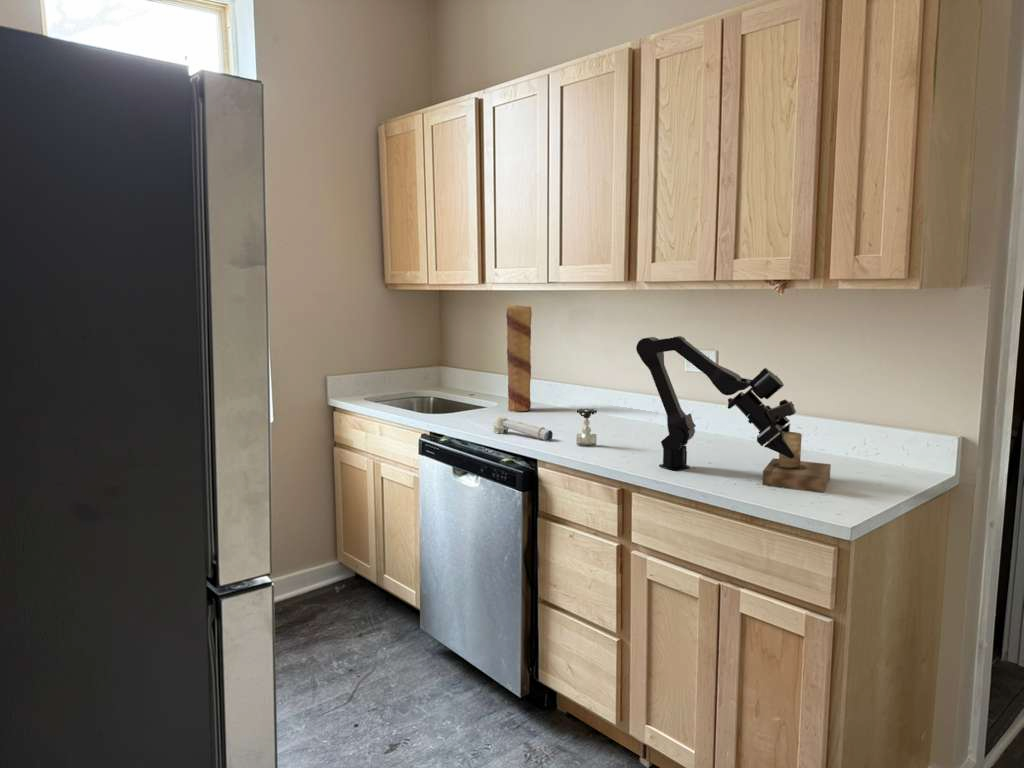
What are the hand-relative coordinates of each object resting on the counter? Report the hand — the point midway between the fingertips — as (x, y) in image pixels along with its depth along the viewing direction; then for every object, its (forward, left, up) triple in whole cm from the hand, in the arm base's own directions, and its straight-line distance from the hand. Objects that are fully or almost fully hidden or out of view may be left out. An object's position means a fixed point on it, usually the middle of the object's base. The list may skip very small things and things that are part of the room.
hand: (795, 454), depth 193 cm
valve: (-17, +67, -8) cm, 70 cm away
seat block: (0, -1, -8) cm, 8 cm away
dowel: (-1, +1, -8) cm, 8 cm away
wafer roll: (+4, +139, -8) cm, 139 cm away
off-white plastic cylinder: (-27, +92, -8) cm, 96 cm away
